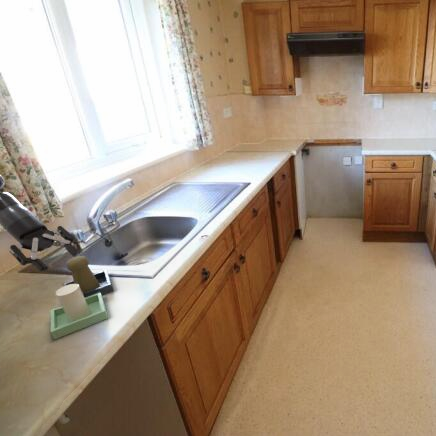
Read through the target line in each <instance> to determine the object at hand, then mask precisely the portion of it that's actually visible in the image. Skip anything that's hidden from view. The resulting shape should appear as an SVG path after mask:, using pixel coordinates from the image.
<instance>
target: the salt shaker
mask: <svg viewBox="0 0 436 436" xmlns="http://www.w3.org/2000/svg"><path fill="white" fill-rule="evenodd" d="M55 296H56V298H57V300H58V302H59V304H60V307H61V306H62V308H63V310H64V312H65V314H66V316H67V318H68V320H69V322H74V321H76V320H79V319H81V318H84V317H87V316H89V315H90V314H91V311H90V308H89V306H88V304H87V302H86V300H85V297H84V295H83V293H82V291H81V288H80V286H79V285H78V284H69V285H66V286H64V287H63V286H62V287H60V288H59V289H57V290H56V291H55Z"/></svg>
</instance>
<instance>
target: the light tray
mask: <svg viewBox="0 0 436 436" xmlns="http://www.w3.org/2000/svg"><path fill="white" fill-rule="evenodd" d="M85 300H86V302H87V304H88V306H89V308H90V311H91V314H90V315H89V316H87V317H84V318H81V319H79V320H76V321H74V322H69V320H68V318H67V316H66V314H65V312H64V310H63V308H62V306H61V305H60V306H58V307H56V308H53V309H50V311H49V312H50V314H49V315H50V318H49V319H50V334H51V336H52V338H53V340H57V339H59V338H61V337H65V336H67V335H70V334H72V333H75V332H77V331H80V330H82V329H84V328H87V327H89V326H92V325H94V324H98V323H99V322H102V321H104V320H107V319H108V318H109V316H108V313H107V308H106V305H105V301H104V298H103V295H101V293H97V294H94V295H92V296H89V297H86V298H85Z"/></svg>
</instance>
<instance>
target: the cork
mask: <svg viewBox="0 0 436 436" xmlns="http://www.w3.org/2000/svg"><path fill="white" fill-rule="evenodd" d="M65 263H66V264H65V267H66V269H67V270H68V271H69V272H71V276H72V281H73V280H74V284H78V285H79V286H80V288H81V291H82V293H84V292H87V291H90V290H93V289H96V288H99V287H100V284H99V282H98V281H97V279H96V278H95V276H94V275H93V274H94V272H93V271H92V270H91V268H90V267H89V263H90V262H89V259H88V258H87V257H86V256H83V255H77V256H75V257H72V258H70V259H68V260H67V261H66V262H65Z"/></svg>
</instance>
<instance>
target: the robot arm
mask: <svg viewBox="0 0 436 436" xmlns="http://www.w3.org/2000/svg"><path fill="white" fill-rule="evenodd" d="M5 184H6V182H5V178H4V177H3V175H1V174H0V190H2V189H3V188H4V187H5ZM0 226H1V227H2V228H3V230H4V231H6V232H7V233H8V234H9V235H10V236H12V237H13V239H14V240H16V241H17V242H18V243H19V244H16V245H15V244H11V245H10V247H9V253H10V254H11V256H13V257H14V258H15V260H16V261H17V262H18V263H19V264H20V265H21V266H26V265H29V264H31V265H33V266H34V267H35V268H36V269H37V270H38V271H40V272H42V271H43V273H45V272H46V271H48V268H49V267H48V266H47V265H46V264H45V263H44V262H43V261H42V259H40V258H37V257H38V256H37V255H38V252H40V253H41V252H43V251H45V250H46V249H50V248H52V247H57V248H58V247H60V248H65V250H66V251H67V252H68V253H69V254H70V255H71V256H72V258H74V257H77V256H78V252H79V250H78V249H77V248H76V247H75V246H74V245H73V243H74V240H75V236H74V235H72V234H71V233H70V232H69V231H68V230H67V229H66V228H64V227H63V226H62V225H58V226H57V228H55V229H49V228H48V227H47V225H45V224H44V223H43V222H42V221H41V220H40V219H39V218H38V217H37V216H36V215H35V214H34V213H33V212H32V211H30V209H28V208H27V207H25V206H24V205H23V204H22V203H21V202H20V201H19V200H18V199H17V197H15V196H14V195H13V194H11V193H10V192H7V191H0ZM55 235H57V236H55ZM59 236H60V237H59ZM22 249H24V250H29V251H30V254H29V257H27V256H26V255H25V254H24V253H23V252H22V251H23V250H22Z"/></svg>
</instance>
